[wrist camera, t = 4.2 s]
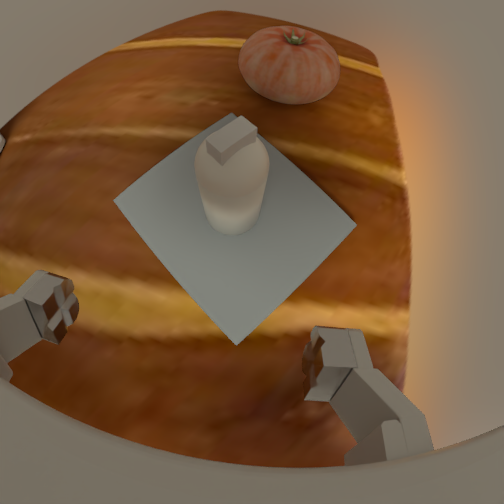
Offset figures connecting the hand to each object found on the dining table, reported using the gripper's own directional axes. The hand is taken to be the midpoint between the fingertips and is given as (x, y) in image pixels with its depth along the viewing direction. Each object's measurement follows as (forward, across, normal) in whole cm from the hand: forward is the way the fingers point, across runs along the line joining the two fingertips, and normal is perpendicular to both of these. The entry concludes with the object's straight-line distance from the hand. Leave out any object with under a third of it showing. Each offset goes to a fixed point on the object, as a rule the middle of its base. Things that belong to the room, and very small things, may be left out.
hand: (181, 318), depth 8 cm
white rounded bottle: (+15, 0, +2) cm, 15 cm away
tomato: (+28, -3, -9) cm, 29 cm away
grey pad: (+16, 0, +3) cm, 16 cm away
